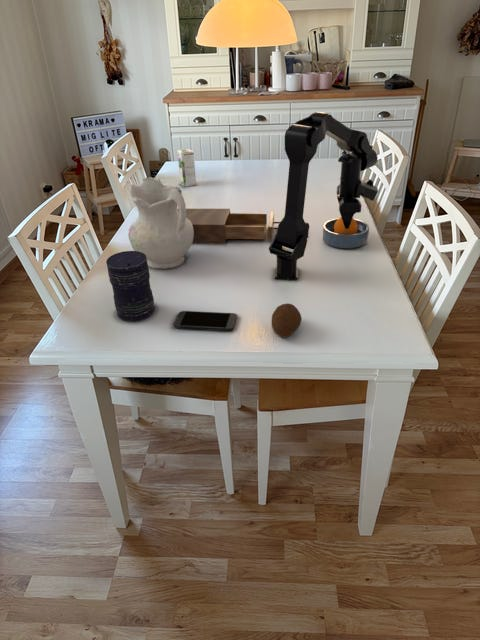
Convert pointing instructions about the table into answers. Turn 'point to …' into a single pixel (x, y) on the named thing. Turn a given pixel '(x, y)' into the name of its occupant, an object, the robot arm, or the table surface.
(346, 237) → the bowl
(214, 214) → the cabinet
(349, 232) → the orange
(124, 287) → the storage jar
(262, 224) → the drawer
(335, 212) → the table surface
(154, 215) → the ceramic pitcher
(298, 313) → the potato
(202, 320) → the smartphone
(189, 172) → the syrup box
